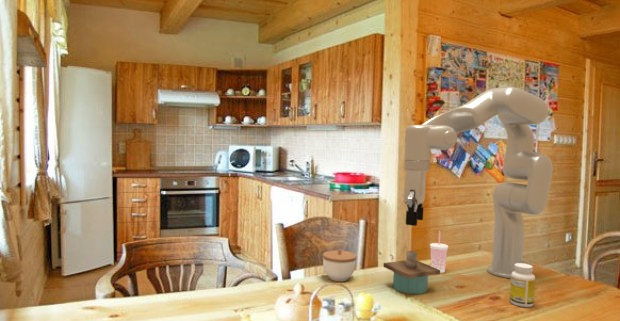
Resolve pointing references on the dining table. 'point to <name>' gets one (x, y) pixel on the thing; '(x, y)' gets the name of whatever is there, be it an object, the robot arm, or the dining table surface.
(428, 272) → the lid
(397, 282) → the bowl
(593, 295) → the dining table surface
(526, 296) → the pill bottle
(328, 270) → the lidded jar
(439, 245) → the beverage cup
